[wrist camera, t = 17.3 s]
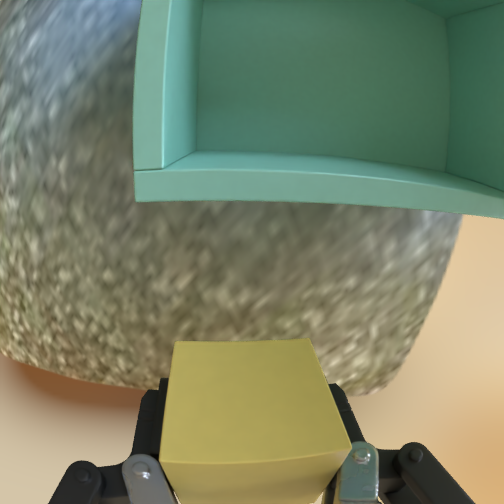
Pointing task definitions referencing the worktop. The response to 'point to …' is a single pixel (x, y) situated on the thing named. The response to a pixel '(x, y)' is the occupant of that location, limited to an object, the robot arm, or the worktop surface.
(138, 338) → the worktop surface
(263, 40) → the cool box
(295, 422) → the block
